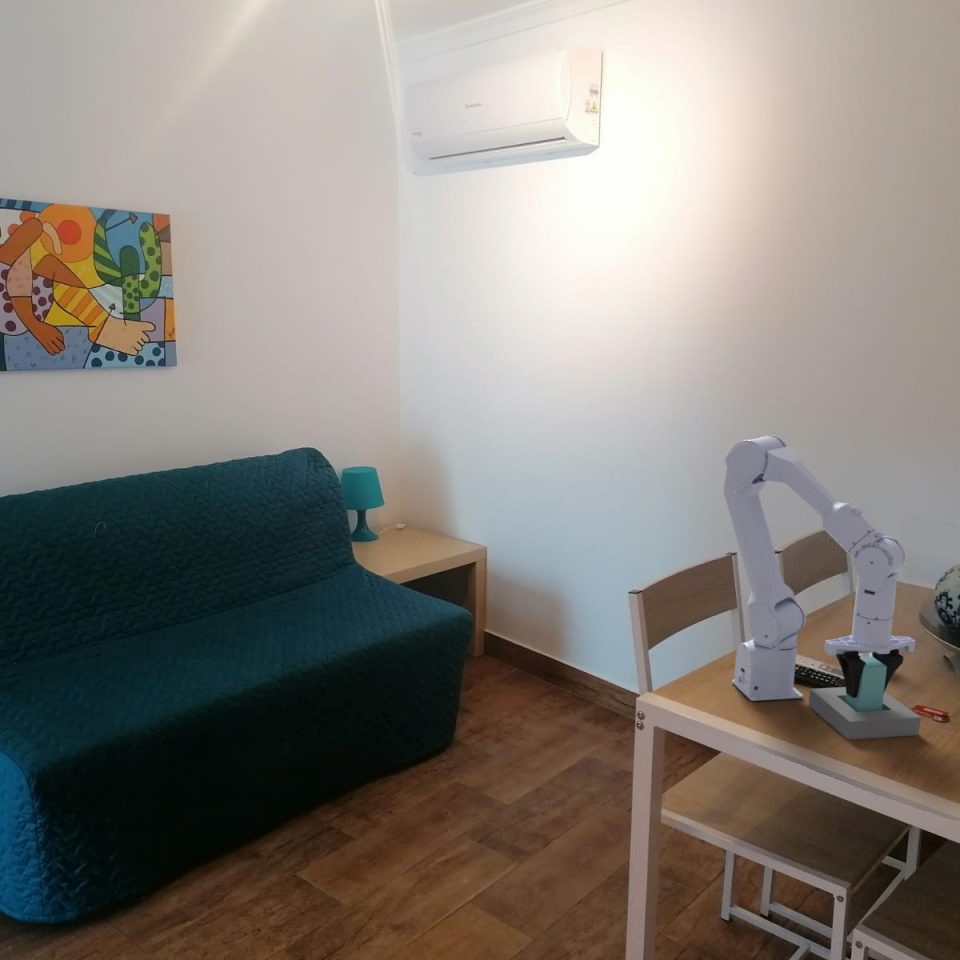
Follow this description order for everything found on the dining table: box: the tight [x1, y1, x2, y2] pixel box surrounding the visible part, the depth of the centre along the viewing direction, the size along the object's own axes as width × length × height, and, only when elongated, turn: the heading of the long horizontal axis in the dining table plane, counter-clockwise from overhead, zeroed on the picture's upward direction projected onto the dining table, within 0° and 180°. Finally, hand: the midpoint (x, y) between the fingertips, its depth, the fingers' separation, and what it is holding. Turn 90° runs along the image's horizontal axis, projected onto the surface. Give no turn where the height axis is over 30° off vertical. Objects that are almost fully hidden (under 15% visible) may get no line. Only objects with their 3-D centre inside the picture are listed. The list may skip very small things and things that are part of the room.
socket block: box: [808, 686, 921, 740], centre depth 150 cm, size 12×12×3 cm
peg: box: [845, 657, 887, 712], centre depth 149 cm, size 4×4×8 cm
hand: (864, 694), depth 149 cm, fingers closed on peg, 4 cm apart
